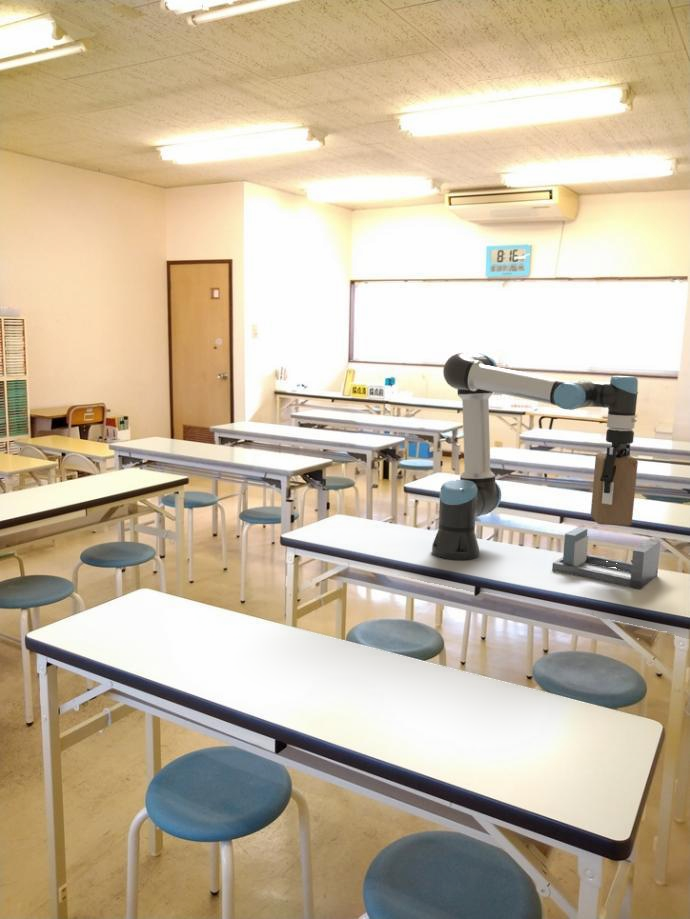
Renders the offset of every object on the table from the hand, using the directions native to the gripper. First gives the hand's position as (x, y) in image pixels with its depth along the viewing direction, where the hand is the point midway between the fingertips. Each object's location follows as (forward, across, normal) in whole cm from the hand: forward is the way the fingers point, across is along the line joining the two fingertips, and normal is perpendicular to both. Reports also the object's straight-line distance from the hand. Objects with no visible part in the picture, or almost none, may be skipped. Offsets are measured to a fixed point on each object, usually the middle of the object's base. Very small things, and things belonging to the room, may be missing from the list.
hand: (614, 500), depth 213 cm
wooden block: (+7, 0, +1) cm, 7 cm away
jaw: (+22, 0, +10) cm, 25 cm away
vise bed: (+23, 0, +1) cm, 23 cm away
